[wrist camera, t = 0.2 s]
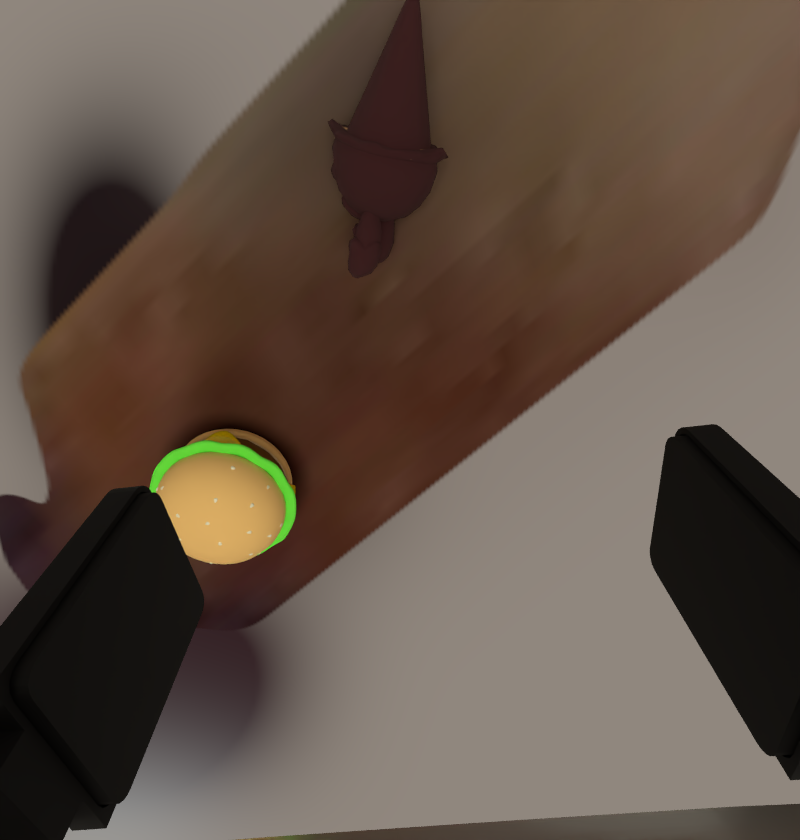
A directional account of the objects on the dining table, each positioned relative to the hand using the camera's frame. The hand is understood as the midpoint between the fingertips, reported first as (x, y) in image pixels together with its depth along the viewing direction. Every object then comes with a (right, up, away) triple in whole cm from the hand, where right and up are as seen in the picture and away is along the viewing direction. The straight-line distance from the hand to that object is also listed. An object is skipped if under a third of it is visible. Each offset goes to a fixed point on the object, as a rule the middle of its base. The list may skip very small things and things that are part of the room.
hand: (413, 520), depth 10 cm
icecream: (-1, +20, +25) cm, 32 cm away
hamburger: (-15, -3, +37) cm, 40 cm away
